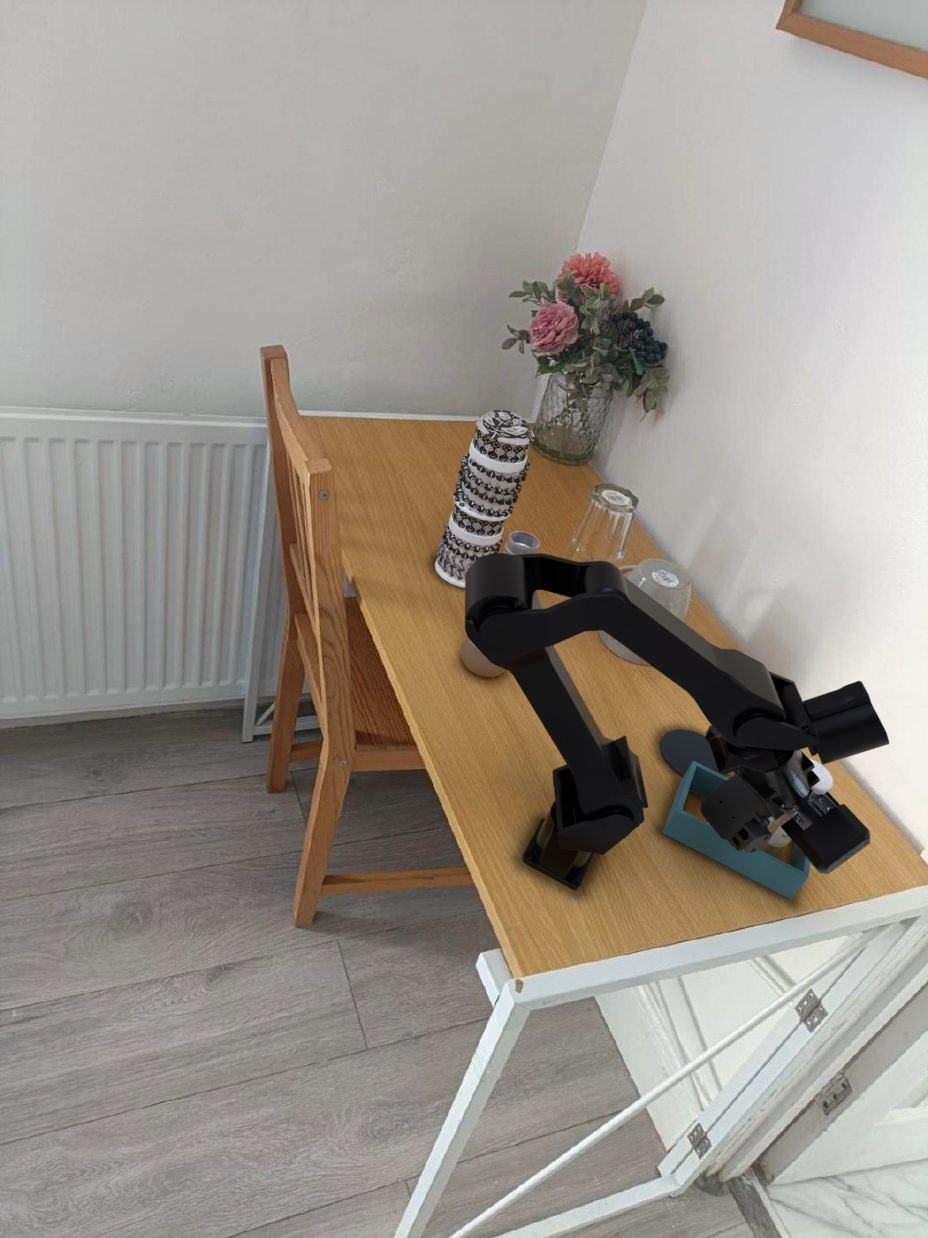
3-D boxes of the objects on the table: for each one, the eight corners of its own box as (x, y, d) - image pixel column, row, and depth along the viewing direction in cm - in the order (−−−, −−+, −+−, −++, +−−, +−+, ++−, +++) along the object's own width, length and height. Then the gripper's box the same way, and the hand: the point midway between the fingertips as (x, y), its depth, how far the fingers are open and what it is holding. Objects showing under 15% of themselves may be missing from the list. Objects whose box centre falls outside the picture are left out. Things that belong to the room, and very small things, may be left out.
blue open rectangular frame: (790, 900, 96) (808, 878, 94) (662, 833, 99) (676, 810, 97) (799, 843, 103) (816, 821, 101) (679, 782, 106) (693, 760, 104)
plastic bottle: (503, 689, 111) (550, 562, 99) (452, 674, 111) (493, 544, 99) (510, 659, 116) (555, 534, 105) (461, 644, 116) (501, 517, 105)
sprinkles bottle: (771, 873, 98) (830, 796, 90) (734, 851, 100) (789, 773, 92) (780, 847, 102) (838, 771, 94) (744, 826, 103) (798, 749, 95)
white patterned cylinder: (502, 589, 129) (554, 437, 114) (444, 591, 125) (490, 434, 110) (479, 552, 135) (526, 404, 120) (424, 552, 131) (465, 399, 116)
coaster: (721, 796, 106) (722, 795, 106) (652, 762, 108) (653, 760, 108) (733, 752, 113) (734, 750, 113) (668, 720, 115) (669, 718, 115)
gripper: (649, 741, 92) (685, 787, 104) (768, 889, 80) (793, 922, 92) (735, 675, 91) (761, 730, 103) (868, 815, 79) (880, 859, 91)
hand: (794, 807), depth 97 cm, fingers closed on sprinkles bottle, 4 cm apart
